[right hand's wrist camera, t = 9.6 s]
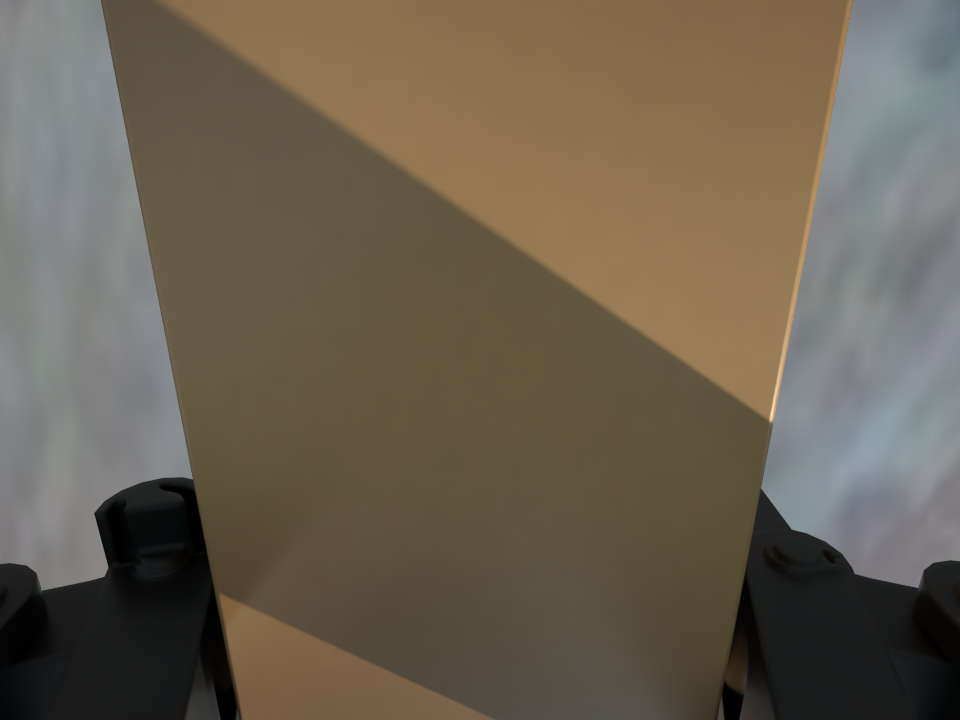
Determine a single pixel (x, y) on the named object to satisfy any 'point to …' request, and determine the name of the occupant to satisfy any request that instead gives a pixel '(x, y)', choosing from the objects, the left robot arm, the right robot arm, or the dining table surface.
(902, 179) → the dining table surface
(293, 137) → the bar
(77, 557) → the dining table surface
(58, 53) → the dining table surface
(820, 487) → the dining table surface
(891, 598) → the right robot arm
